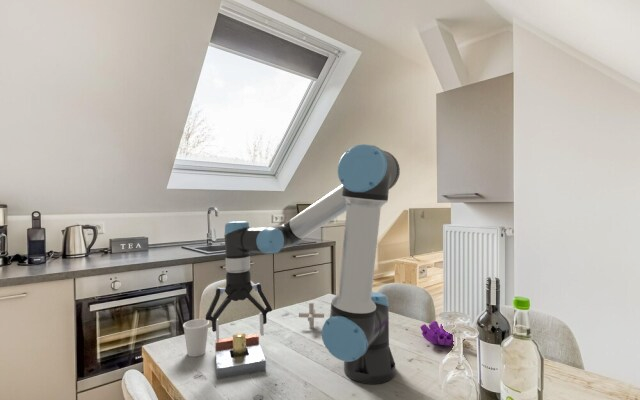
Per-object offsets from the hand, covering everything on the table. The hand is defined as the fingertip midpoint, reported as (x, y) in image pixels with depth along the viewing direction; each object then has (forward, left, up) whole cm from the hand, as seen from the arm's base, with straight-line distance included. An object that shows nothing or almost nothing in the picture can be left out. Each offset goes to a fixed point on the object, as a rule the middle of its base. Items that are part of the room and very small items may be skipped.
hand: (240, 337), depth 105 cm
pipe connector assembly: (-11, -68, -8) cm, 69 cm away
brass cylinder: (0, 0, -7) cm, 7 cm away
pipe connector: (+19, -30, -8) cm, 36 cm away
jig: (0, 0, -8) cm, 8 cm away
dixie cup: (+12, +13, -8) cm, 20 cm away
